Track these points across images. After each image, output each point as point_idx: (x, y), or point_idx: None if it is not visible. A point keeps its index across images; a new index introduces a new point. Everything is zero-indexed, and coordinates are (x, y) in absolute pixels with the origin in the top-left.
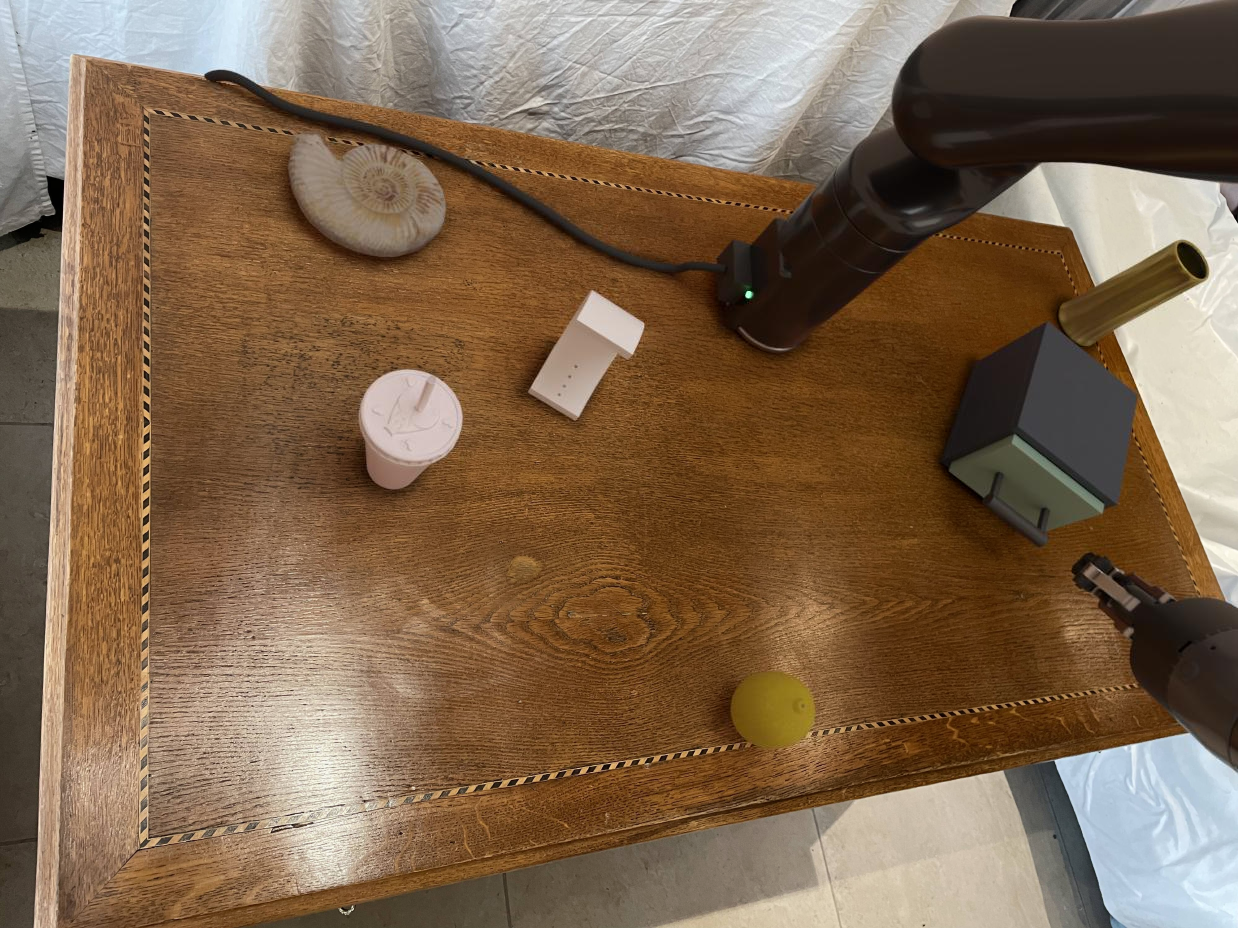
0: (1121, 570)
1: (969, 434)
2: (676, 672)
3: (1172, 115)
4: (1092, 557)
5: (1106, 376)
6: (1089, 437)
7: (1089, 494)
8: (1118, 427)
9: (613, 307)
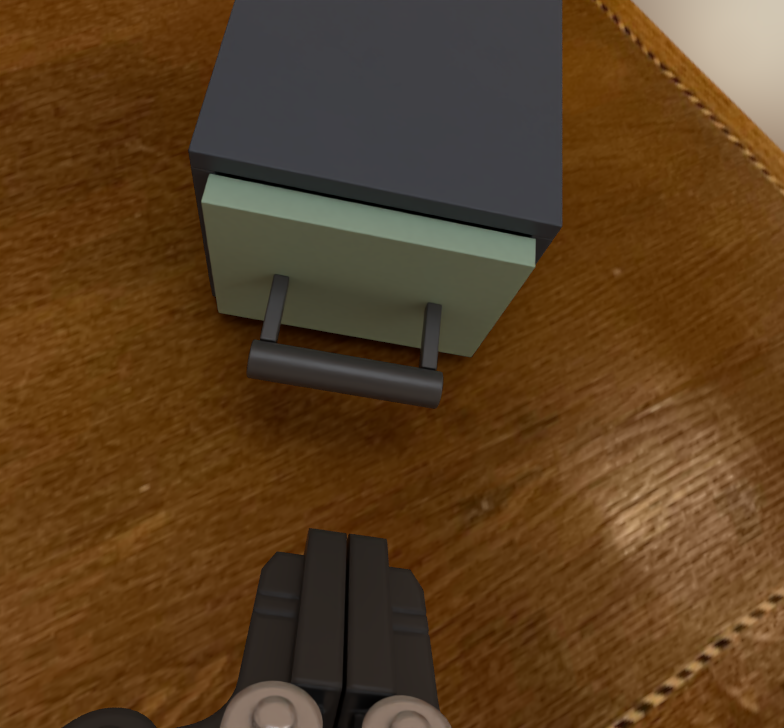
0: (263, 725)
1: None
2: None
3: None
4: (304, 560)
5: None
6: (440, 92)
7: (483, 233)
8: (522, 39)
9: None
